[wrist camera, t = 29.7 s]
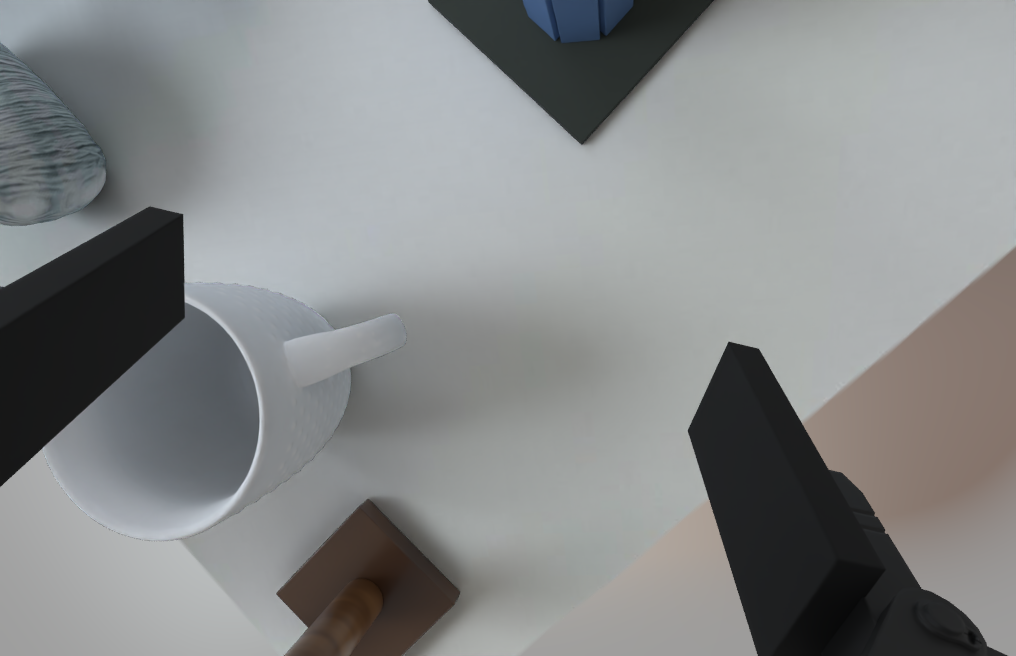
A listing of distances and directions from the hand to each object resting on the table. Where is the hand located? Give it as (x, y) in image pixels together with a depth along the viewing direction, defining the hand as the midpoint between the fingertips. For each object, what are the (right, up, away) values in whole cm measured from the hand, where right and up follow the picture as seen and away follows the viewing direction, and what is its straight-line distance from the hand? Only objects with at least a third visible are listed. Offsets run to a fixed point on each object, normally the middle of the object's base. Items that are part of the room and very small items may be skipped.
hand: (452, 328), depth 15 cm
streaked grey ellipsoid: (-29, +12, +26) cm, 41 cm away
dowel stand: (-7, -16, +24) cm, 30 cm away
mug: (-11, -2, +24) cm, 26 cm away
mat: (+5, +19, +20) cm, 28 cm away
